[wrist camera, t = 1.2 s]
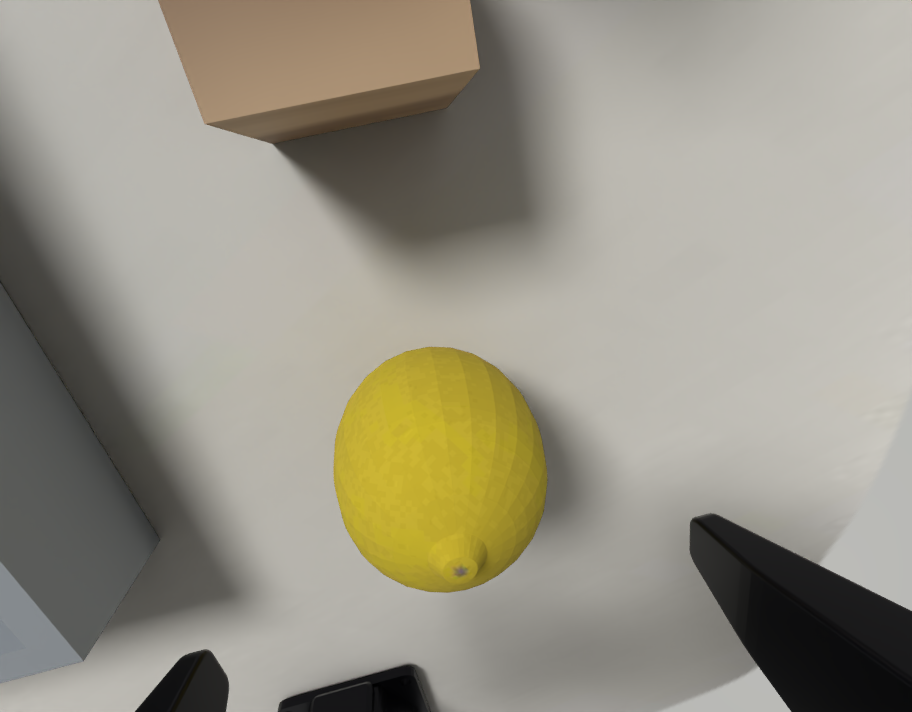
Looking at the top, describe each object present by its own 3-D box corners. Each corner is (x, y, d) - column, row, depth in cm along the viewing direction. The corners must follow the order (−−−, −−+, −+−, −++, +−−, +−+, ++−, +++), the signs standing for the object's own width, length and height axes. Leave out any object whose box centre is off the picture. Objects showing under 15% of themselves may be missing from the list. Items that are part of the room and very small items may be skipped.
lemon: (530, 357, 16) (654, 512, 8) (454, 473, 17) (503, 692, 10) (392, 284, 14) (397, 400, 7) (320, 420, 16) (260, 637, 8)
